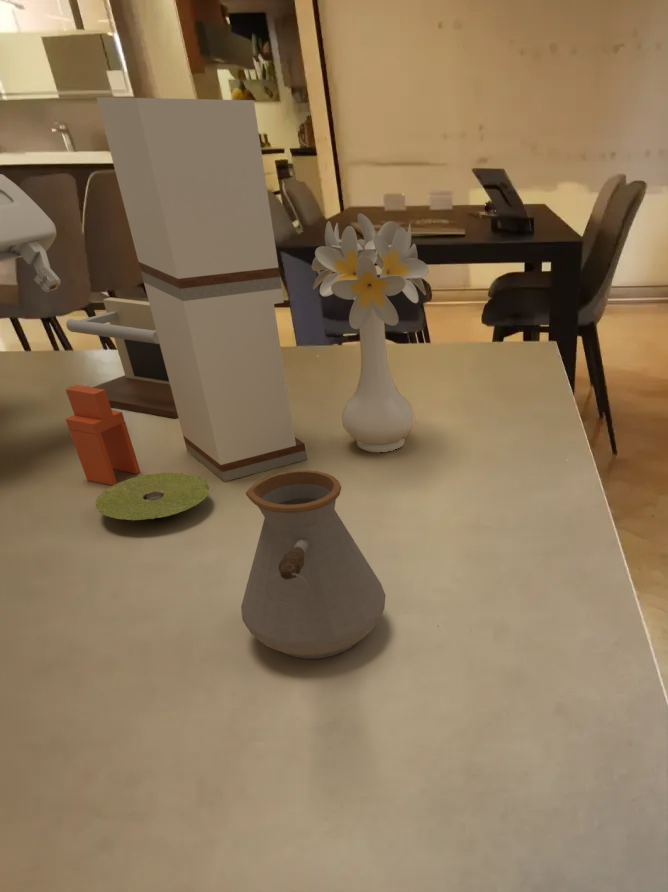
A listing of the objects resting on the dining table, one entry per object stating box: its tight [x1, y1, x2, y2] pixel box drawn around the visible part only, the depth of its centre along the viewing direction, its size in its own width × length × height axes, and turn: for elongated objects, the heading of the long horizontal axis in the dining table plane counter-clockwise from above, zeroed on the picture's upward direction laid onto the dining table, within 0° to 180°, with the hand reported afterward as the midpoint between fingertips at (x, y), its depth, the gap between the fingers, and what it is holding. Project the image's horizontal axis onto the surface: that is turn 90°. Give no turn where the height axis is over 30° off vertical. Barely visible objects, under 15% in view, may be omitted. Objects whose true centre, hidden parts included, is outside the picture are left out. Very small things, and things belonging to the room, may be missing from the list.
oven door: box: [65, 297, 179, 419], centre depth 100 cm, size 11×18×12 cm, turn 68°
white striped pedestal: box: [96, 96, 308, 482], centre depth 76 cm, size 11×11×35 cm
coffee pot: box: [240, 469, 387, 660], centre depth 50 cm, size 21×12×15 cm, turn 11°
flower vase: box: [311, 213, 430, 454], centre depth 82 cm, size 13×18×25 cm
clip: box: [65, 384, 141, 486], centre depth 79 cm, size 4×4×10 cm
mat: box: [95, 472, 210, 521], centre depth 74 cm, size 11×11×2 cm
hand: (21, 296), depth 76 cm, fingers open, 8 cm apart
